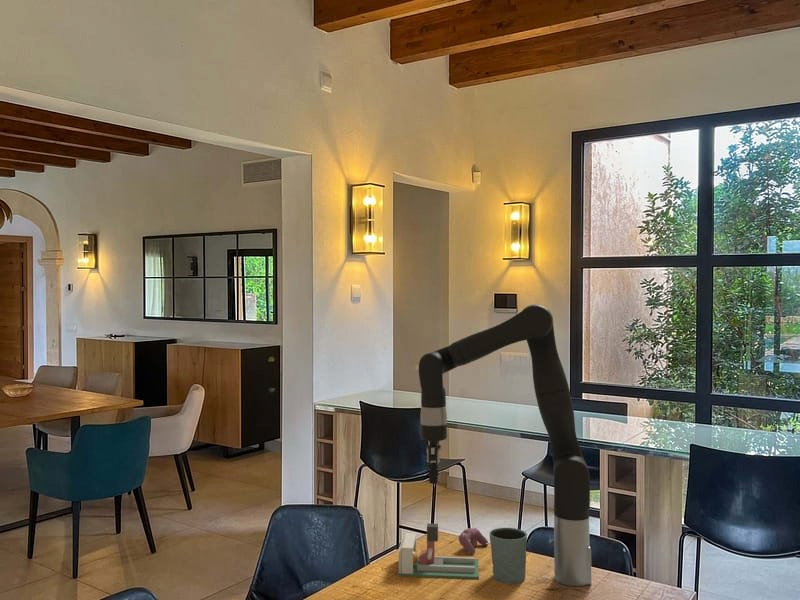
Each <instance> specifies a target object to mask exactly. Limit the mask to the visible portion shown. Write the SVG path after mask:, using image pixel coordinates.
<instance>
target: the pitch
mask: <svg viewBox="0 0 800 600" xmlns="http://www.w3.org/2000/svg"><path fill="white" fill-rule="evenodd" d="M435 558H444V563H443V565H423V564H420V555H418V561H417V563H416V564H415V565H413V574H404V573H399V571H398V572H397V576H398V577H415V578H416V577H418V578H440V579H441V578H442V579H446V578H447V579H464V580H466V579H468V580H480V573H479V558H478V559H477V558H475V557H468V556H466V557H464V556H462V557H461V556H442V555H441V556H437V555H435Z"/></svg>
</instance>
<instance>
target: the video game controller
mask: <svg viewBox="0 0 800 600" xmlns="http://www.w3.org/2000/svg"><path fill="white" fill-rule="evenodd" d="M458 542H459V544H460V546H462V547H463V549H464V550H465V551H466V552H467V553H469V554H471V555H474V554H476V549H475V547H477V546H478V543H479V544H480V545H482V546H484V547H487V546H488V545H489V541H488V539H487V538H486V537H485V536H484V535H483V534H482V533H481V532H480V530H479V529H477V528H476V527H469V528H466V529H463V531H462V532H461V533H460V534H459V536H458ZM486 543H488V544H486Z"/></svg>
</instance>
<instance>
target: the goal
mask: <svg viewBox="0 0 800 600" xmlns="http://www.w3.org/2000/svg"><path fill="white" fill-rule="evenodd" d="M399 545H400V546H399V548H398V572H399V573H404V574H413V551H414V552H416V553H417V532H405V536H404V535H403V536H402V539H401V542H400V544H399Z"/></svg>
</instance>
